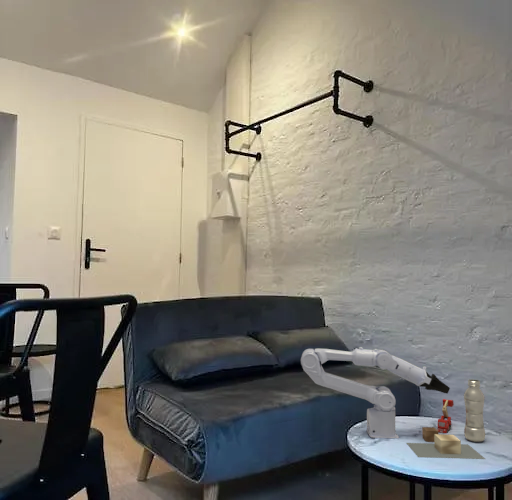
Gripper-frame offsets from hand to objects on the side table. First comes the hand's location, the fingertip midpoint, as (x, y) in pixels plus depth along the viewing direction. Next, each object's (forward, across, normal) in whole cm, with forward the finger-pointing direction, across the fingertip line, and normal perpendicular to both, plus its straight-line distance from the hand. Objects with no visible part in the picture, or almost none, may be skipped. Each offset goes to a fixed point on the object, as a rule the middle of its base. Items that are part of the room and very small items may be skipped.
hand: (445, 389), depth 165 cm
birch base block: (+4, -12, +17) cm, 21 cm away
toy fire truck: (+9, +13, +13) cm, 20 cm away
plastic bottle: (+15, 0, +11) cm, 19 cm away
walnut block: (+2, -2, +18) cm, 18 cm away
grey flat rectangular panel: (+3, -12, +18) cm, 21 cm away
